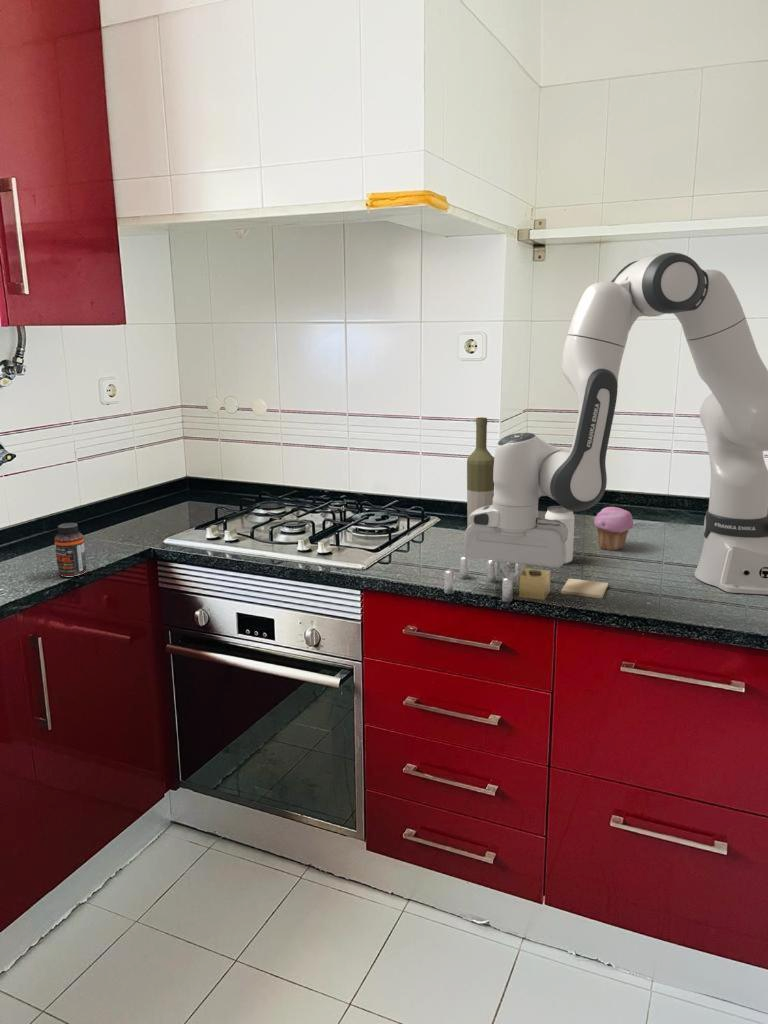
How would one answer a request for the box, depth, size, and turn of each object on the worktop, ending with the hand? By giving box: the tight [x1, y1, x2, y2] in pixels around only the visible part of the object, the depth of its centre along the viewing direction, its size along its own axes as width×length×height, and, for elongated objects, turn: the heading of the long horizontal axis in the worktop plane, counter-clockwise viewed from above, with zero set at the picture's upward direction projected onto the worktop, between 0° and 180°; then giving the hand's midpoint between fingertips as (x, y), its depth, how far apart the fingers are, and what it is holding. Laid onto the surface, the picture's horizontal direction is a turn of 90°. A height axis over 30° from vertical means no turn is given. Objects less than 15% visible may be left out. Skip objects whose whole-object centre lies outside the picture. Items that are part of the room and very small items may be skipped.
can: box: [544, 505, 575, 565], centre depth 176 cm, size 6×6×12 cm
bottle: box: [466, 416, 495, 527], centre depth 194 cm, size 7×7×30 cm
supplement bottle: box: [54, 522, 87, 576], centre depth 172 cm, size 6×6×11 cm
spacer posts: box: [443, 555, 521, 603], centre depth 160 cm, size 14×12×4 cm
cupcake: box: [593, 506, 634, 551], centre depth 185 cm, size 9×9×10 cm
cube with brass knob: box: [518, 567, 551, 601], centre depth 156 cm, size 5×5×5 cm
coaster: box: [560, 577, 609, 599], centre depth 159 cm, size 8×8×1 cm
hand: (513, 582), depth 158 cm, fingers closed
